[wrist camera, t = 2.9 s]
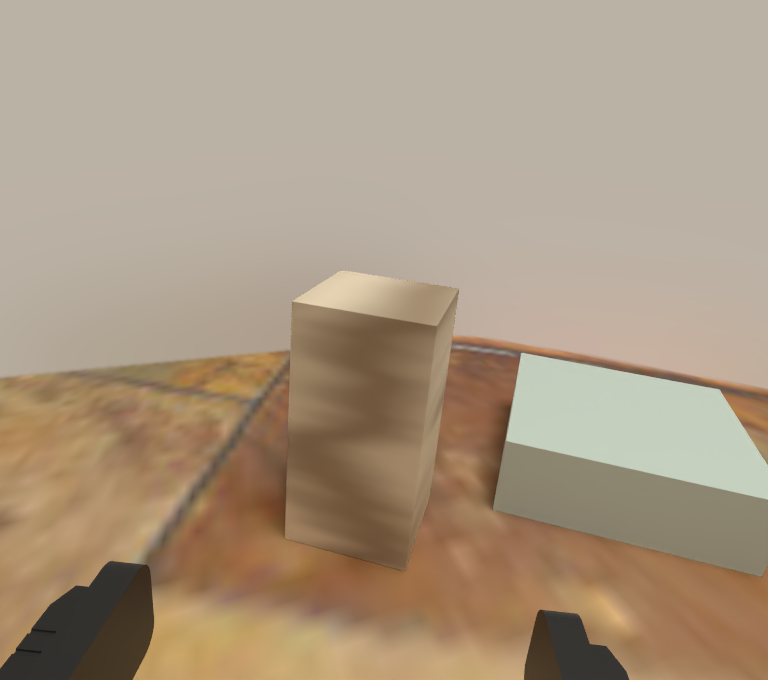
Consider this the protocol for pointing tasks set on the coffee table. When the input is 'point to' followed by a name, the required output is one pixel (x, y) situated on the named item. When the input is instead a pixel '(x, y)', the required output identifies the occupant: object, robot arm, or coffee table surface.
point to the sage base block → (635, 463)
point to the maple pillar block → (365, 412)
